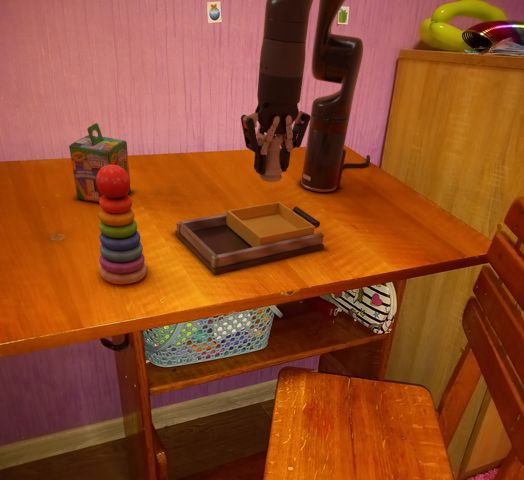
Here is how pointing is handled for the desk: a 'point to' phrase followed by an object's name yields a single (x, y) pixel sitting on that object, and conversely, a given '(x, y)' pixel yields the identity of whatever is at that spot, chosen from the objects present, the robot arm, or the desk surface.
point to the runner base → (237, 245)
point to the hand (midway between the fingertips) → (271, 171)
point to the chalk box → (95, 161)
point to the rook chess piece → (273, 160)
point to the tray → (270, 223)
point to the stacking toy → (118, 229)
